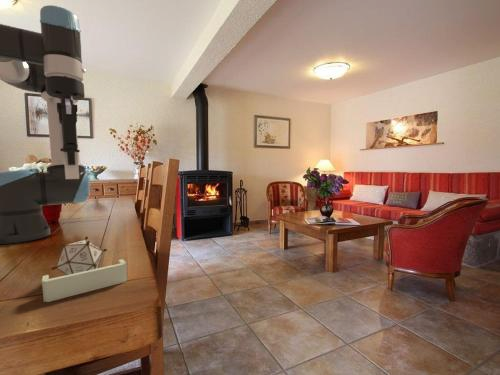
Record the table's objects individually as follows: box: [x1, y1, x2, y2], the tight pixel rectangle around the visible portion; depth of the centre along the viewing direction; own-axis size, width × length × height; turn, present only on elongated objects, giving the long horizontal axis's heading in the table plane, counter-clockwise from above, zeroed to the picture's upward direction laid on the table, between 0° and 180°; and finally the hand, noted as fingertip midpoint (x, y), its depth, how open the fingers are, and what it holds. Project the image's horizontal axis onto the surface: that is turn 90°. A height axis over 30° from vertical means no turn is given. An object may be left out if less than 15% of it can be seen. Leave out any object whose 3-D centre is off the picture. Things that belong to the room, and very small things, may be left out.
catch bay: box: [41, 258, 128, 303], centre depth 48 cm, size 4×13×4 cm, turn 127°
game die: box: [50, 235, 108, 275], centre depth 53 cm, size 9×8×10 cm
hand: (72, 178), depth 63 cm, fingers closed
